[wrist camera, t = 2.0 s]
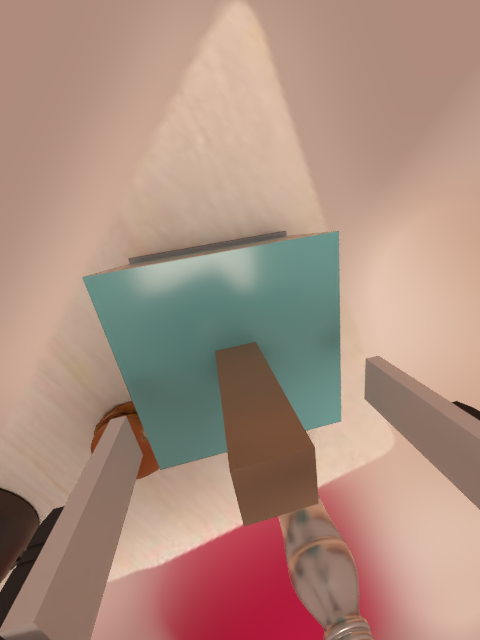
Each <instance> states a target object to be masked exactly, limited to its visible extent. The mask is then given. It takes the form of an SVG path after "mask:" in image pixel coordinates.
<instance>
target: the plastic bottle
mask: <svg viewBox="0 0 480 640" xmlns="http://www.w3.org/2000/svg"><path fill="white" fill-rule="evenodd" d="M318 503H319V504H316V505H313V506H310V507H306V508H303V509H300V510H296V511H293V512H290V513H287V514H283V515H280V516H279V520H280V524H281V528H282V533H283V539H284V546H285V552H286V558H287V564H288V570H289V575H290V579H291V583H292V585H293V588H294V590H295V592H296V594H297V596H298V598H299V599H300V600H301V601H302V603H303V604H304V605H305V607H306V608H307V609H308V611H309V612H310V613H311V614H312V615H313V616H314V617H315V618H316V620H317V621H318V622H319V623H320V624H321V625H322V627H323V629H324V631H325V634H324V636H323V640H374V639H373V637H372V635H371V629H370V627H369V625H368V623H367V621H366V619H364V618H362V617H361V615H360V612H359V585H358V573H357V569H356V565H355V561H354V558H353V556H352V554H351V552H350V551H349V548H348V546H347V545H346V543H345V541H344V540H343V538H342V537H341V535H340V533H339V531H338V530H337V528H336V526H335V525H334V523H333V521H332V520H331V518H330V517H329V515H328V513H327V511H326V509H325V507H324V505H323V503H322V501H321V500H320V498H319V495H318Z"/></svg>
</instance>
